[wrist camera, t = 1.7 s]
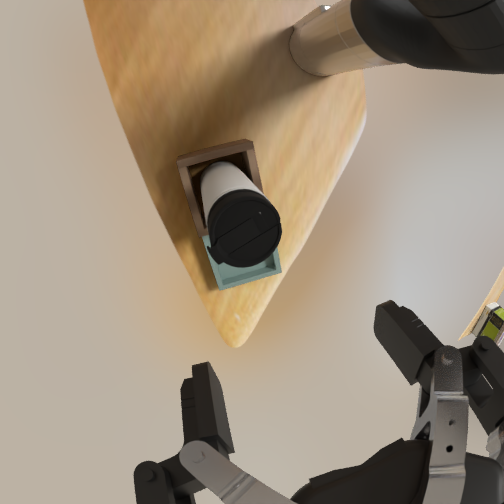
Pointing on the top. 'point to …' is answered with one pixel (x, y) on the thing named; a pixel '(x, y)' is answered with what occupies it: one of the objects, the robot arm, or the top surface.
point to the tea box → (491, 323)
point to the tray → (242, 270)
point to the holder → (208, 154)
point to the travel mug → (237, 217)
